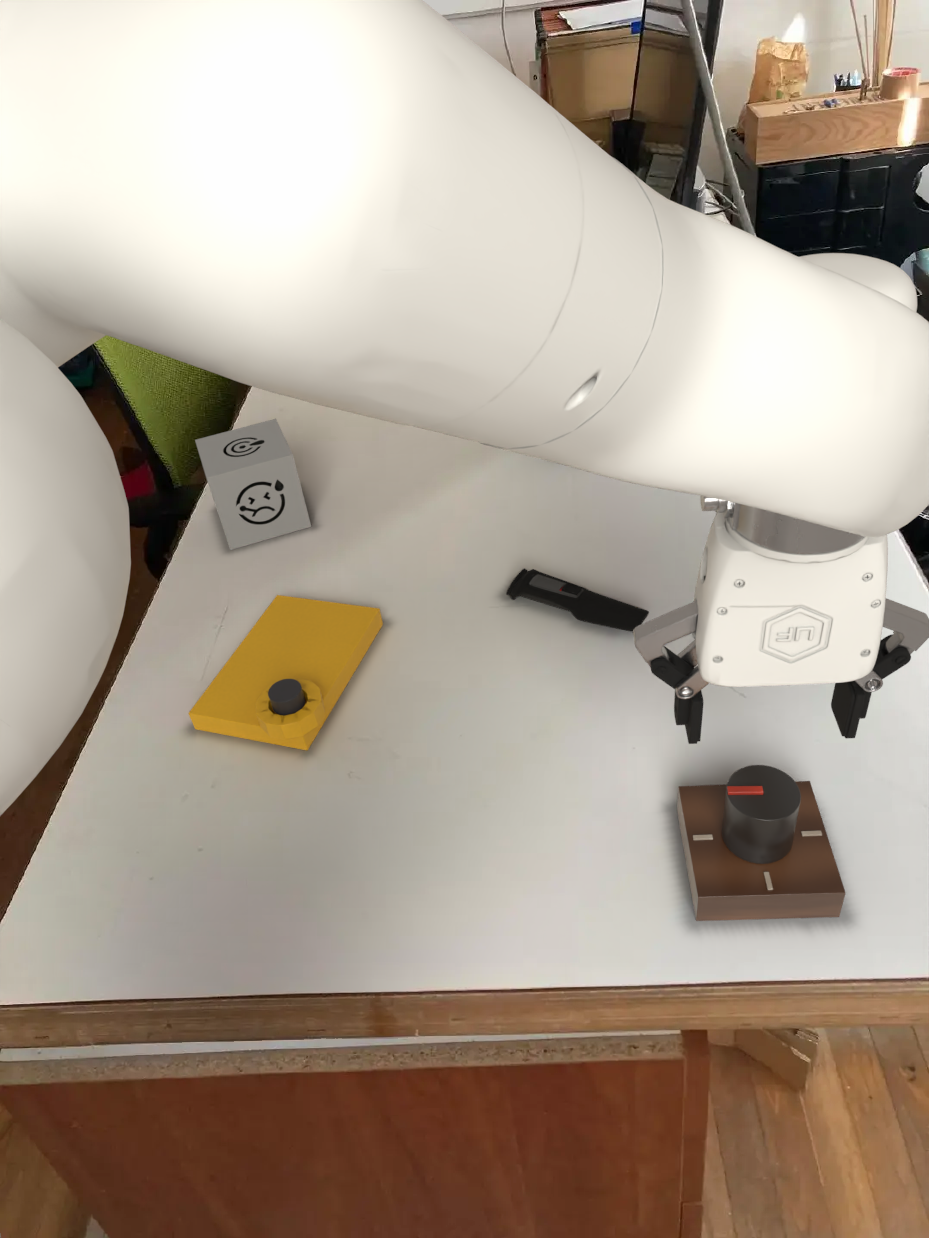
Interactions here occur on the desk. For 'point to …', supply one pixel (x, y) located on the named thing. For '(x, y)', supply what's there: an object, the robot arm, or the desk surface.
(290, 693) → the black cylindrical knob
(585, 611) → the electric trimmer
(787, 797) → the dial knob
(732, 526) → the robot arm
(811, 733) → the desk surface
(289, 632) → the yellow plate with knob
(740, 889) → the dial panel
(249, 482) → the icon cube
